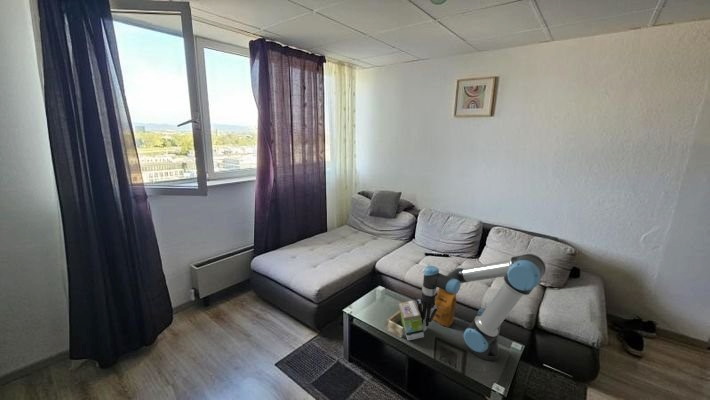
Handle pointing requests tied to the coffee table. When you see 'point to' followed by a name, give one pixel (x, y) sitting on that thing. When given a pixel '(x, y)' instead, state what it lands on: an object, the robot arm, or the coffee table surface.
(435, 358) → the coffee table surface
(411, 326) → the tea box
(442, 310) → the coffee package
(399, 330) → the birch corner fence
